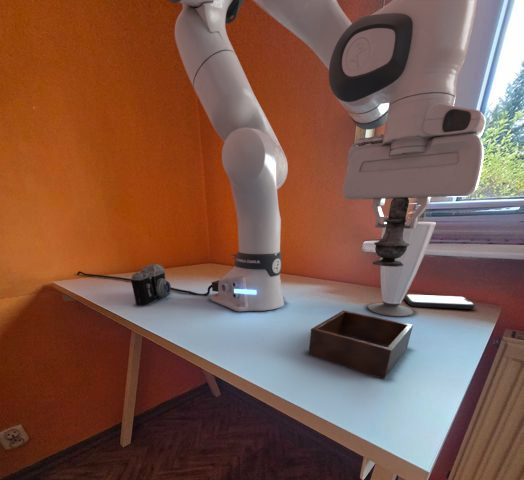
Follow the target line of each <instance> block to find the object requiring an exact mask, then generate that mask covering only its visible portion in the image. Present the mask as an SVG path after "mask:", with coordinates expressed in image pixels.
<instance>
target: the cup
mask: <svg viewBox="0 0 524 480" xmlns="http://www.w3.org/2000/svg"><path fill="white" fill-rule="evenodd" d="M386 223H387V222H386ZM405 224H406V222H405ZM436 225H437V223H436V221H417V225H416V228H415V229H406V228H404V231H403V240H404V241H405V242H406V243H408V244H410V245H409V246H407V250H406V252H405V253H404V255H402V256H401V257H399V258H396V259H395V260H396V261H400V262H401V263H402V264H403V266H397V267H390V266H379V267H380V269H379V273H380V274H379V275H380V293H381V301H382V302H374V303H370V304H368V306H367V309H368V310H369V311H370V312H372V313H374V314H378V315H381V316H386V317H395V318H397V317H398V318H402V317H410V316H412V315H413V314H414V310H413V309H412V308H410V307H407V306H405V305H402V301H403V300H404V299H405V295H407V293H408V291H409V290H410V288H411V285H412V283H413V281H414V279H415V277H416V275H417V274H418V270H419V268H420V266H421V263H422V261H423V259H424V257H425V255H426V251H427V250H428V247H429V244H430V241H431V239H432V236H433V233H434V231H435V228H436ZM385 229H386V228H381V239H382V238H383V236H384V233H385ZM382 259H383V258H381V257H380V260H382Z"/></svg>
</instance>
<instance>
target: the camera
mask: <svg viewBox="0 0 524 480" xmlns="http://www.w3.org/2000/svg"><path fill="white" fill-rule="evenodd" d="M130 279H131V281H130V283H131V286H132V292H133V296H134V301H135V306H137V307H147V306H149V305H150V304H152V303H155V302H156V301H158V300H160V299H162V298H166V297H167V296H169V295H170V294H171V291H172V290H171V288H172V287H171V283H170V282H169V281H168V280H167V279H166V274H165V268H164V266H163V265H162V264H158V263H150V264H148V265H145V266H144V267H143V268H142V269H141V270H140V271H139V272H138V271H137V272H135V273H134V274H132V275H131V278H130Z"/></svg>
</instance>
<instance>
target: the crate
mask: <svg viewBox="0 0 524 480" xmlns="http://www.w3.org/2000/svg"><path fill="white" fill-rule="evenodd" d="M413 328H414V324H410V323H406V322H401V321H396V320H392V319H388V318H382V317H377V316H372V315H368V314H362V313H357V312H353V311H348V310H341V311H339V312H338V313H336V314H334V315H333V316H331V317H329V318H327V319H326V320H324V321H322V322H321V323H319V324H317V325H315V326H314V327H312V328H311V329H310V334H309V335H310V336H309V349H308V354H309V355H311V356H314V357H317V358H321V359H323V360H327V361H329V362H333V363H335V364H338V365H341V366H345V367H347V368H351V369H353V370H355V371H356V370H357V371H359V372H363V373H366V374H368V375H371V376H375V377H377V378H381V379H386V378H387V376H388V375H389V374H390V372H391V371H392V370H393V368H394V367H395V366H396V364H397V363H398V362H399V360H400V359H401V357H403V355H404V354H405V353H406V351H407V349H408V346H409V342H410V338H411V334H412V332H413Z"/></svg>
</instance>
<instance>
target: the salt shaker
mask: <svg viewBox="0 0 524 480" xmlns="http://www.w3.org/2000/svg"><path fill="white" fill-rule="evenodd" d="M409 205H410V198H407V197H404V198H394V199H391V201H390V206H389V211H388V216H387V217H388V219H386V220H385V221H386V222H387V224H386V229H385V233H384V236H383V238H382V237H381V239H380V240H378V241H375V242H374V243H373V245H375V246H374V247H375V248H374V250H375V254H376V255H377V257H379V258H380V259H376V260H374V261H372V265H374V266H379V267H380V266H390V267H397V266H403V264H402V263H401V262H400V261H396V260H395V259H396V258H399V257H401V256H402V255H404V253H405V252H406V250H407V246H409V245H410V244H408V243H406V242H405V241H404V240H403V231H404V226H405V222H406V217H407V215H408V209H409ZM381 258H383V259H382V260H381Z"/></svg>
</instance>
